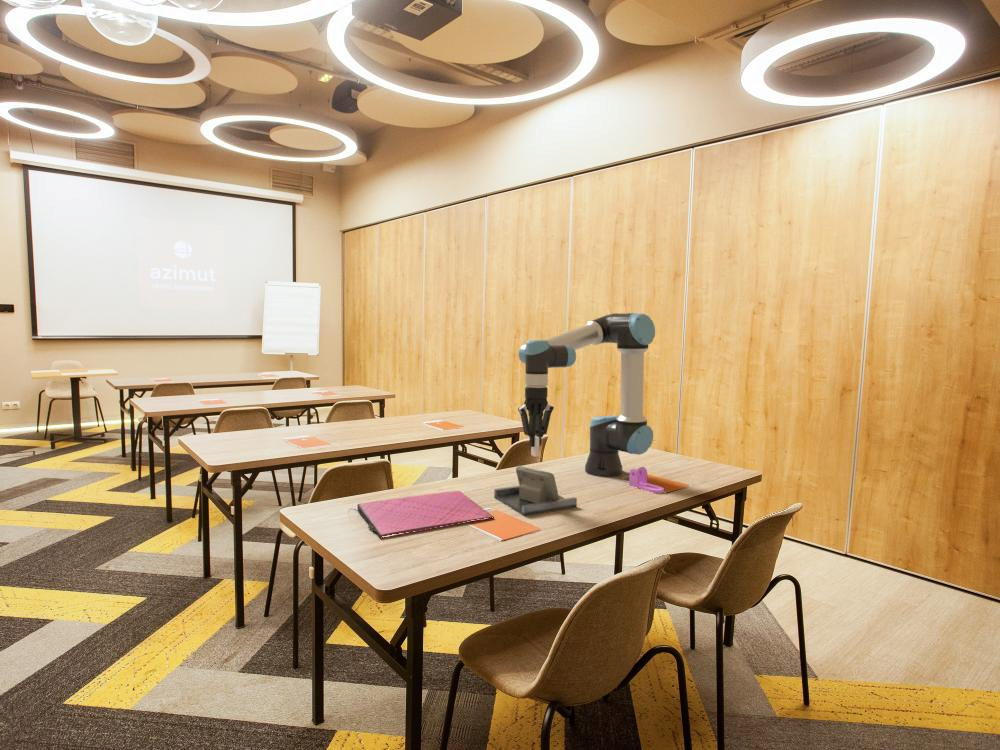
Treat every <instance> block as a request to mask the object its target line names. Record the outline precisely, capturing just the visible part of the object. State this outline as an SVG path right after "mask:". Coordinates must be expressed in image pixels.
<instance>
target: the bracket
mask: <svg viewBox="0 0 1000 750" xmlns="http://www.w3.org/2000/svg"><path fill="white" fill-rule="evenodd" d="M628 479H629V480H628V481H629V482H628V486H629V485H630V486H629V487H631V486H634V487H637V488H636V489H638V488H640V489H639V490H641V489H643V490H642V491H644V490H646V491H645V492H647V491H649V492H648V493H650V492H653V493H652V494H655V493H661V494H663V493H662V492H664V493H665V491H664V490H665V488H664V487H662V486H660V485H656V484H653V483H649V482H648V470H647V468H646V467H644V466H641V467H638V468H632V469H630V470H629V478H628ZM634 487H633V488H634Z"/></svg>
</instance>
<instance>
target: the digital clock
mask: <svg viewBox="0 0 1000 750" xmlns="http://www.w3.org/2000/svg"><path fill="white" fill-rule="evenodd" d="M515 472H516V476H517V480H518V484H519V485H518V486H520V488H519V499H522V500H526V501H529V502H533V503H541V502H547V501H553V500H559V496H560V494H559V492H558V488H557V482H556V478H555V474H554V473H552V472H549V471H545V470H541V469H537V468H533V467H528V466H522V465H518V466H516V467H515Z"/></svg>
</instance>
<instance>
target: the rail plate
mask: <svg viewBox="0 0 1000 750" xmlns="http://www.w3.org/2000/svg"><path fill="white" fill-rule="evenodd" d="M519 488H520V485H514V486H506V487H499V488H494V491H493V493H494V494H493V496H494V497H493V498H495V499H496V500H498V501H499V502H501V503H502V502H503V503H502V504H504V505H506V506H507V505H508V506H507V507H509V508H510V507H511V508H510V509H512V510H513V511H515V512H517V513H518V512H519V514H520V515H522V516H524V517H528V516H532V515H533V514H534V515H538V514H539V513H540V514H545V513H544V512H546V513H550V512H557V511H563V510H567V509H574V508H577V506H578V505H577V504H578V503H577V502H578V499H577V497H576V496H573V497H567V498H565V497H563V496H561V495H559V500H553V501H547V502H541V503H533V502H529V501H526V500H522V499H519ZM527 515H528V516H527Z"/></svg>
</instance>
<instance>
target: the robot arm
mask: <svg viewBox="0 0 1000 750" xmlns="http://www.w3.org/2000/svg"><path fill="white" fill-rule="evenodd" d="M655 337H656V327H655V324H654V321H653V319H651V317H650V316H649V315H648V314H645V313H638V312H634V313H633V312H632V313H631V312H629V313H610V314H607V315H604V316H600V317H598V318H596V319H595V318H594V319H593V320H590V321H587V322H586V324H585V325H583V326H581V327H578V328H575V329H572V330H570V331H567V332H564V333H561V334H558V335H556V336H552V337H550V338H547V339H530V340H527V341H526V343H524V344H522V345H521V346H520V347H519V350H518V358H519V361H520V362H521V363H522V364H524V366H525V374H524V375H525V376H524V377H525V378H524V379H525V380H524V381H525V383H524V385H525V387H524V398H525V400H524V402H523V405H522V406H521V407H520V406H518V408H517V411H518V412H519V415H520V419H521V423H522V429H523V434H524V435H525V436H527V437H528V438H529V442H528V443H529V447H530V449H531V450H530V451H531V452H530V455H531V456H533V457H535V458H536V457H538V458H539V457H540V447H541V446H542V438H543V437H544V436H545V435H547V433H548V428H549V424H550V419H551V416H552V412H553V410H555V409H554V407H555V406H553V405H550V404H549V402H548V393H549V392H548V390H549V389H548V387H547V386H548V385H549V384H548V383H549V369H550V368H551V369H552V368H565V369H566V368H567V367H568V368H569V367H571V366H573V365H574V364H575V363H576V359H577V353H576V351H577V350H580V349H582V348H584V347H585V348H586V347H587V346H590V345H593V346H594V345H595V346H597V345H600V344H609V343H610V344H616V348H617V351H619V353H620V407H619V409H620V413H619V415H602V416H601V415H598V416H594V417H592V418H591V420H590V426H589V453H588V456H587V459H586V462H585V464H584V471H585V473H587V474H590V475H593V476H599V477H614V476H615V477H617V476H620V475H622V474H623V466H622V462H621V458H620V454H619V452H625V453H627V454H630V455H637V456H638V455H642V454H645V453H646V452H648V450H649V449H650V448H651V445H652V443H653V441H654V431H653V428H652V427H650V426H649V425H648V419H647V417H646V416H644V383H645V382H644V379H645V377H644V375H645V374H644V372H645V371H644V369H645V367H644V366H645V364H644V363H645V353H646V352H647V351H648V350H649V345H650V344H651V343H653V341H654V338H655ZM527 412H528V413H527Z"/></svg>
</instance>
